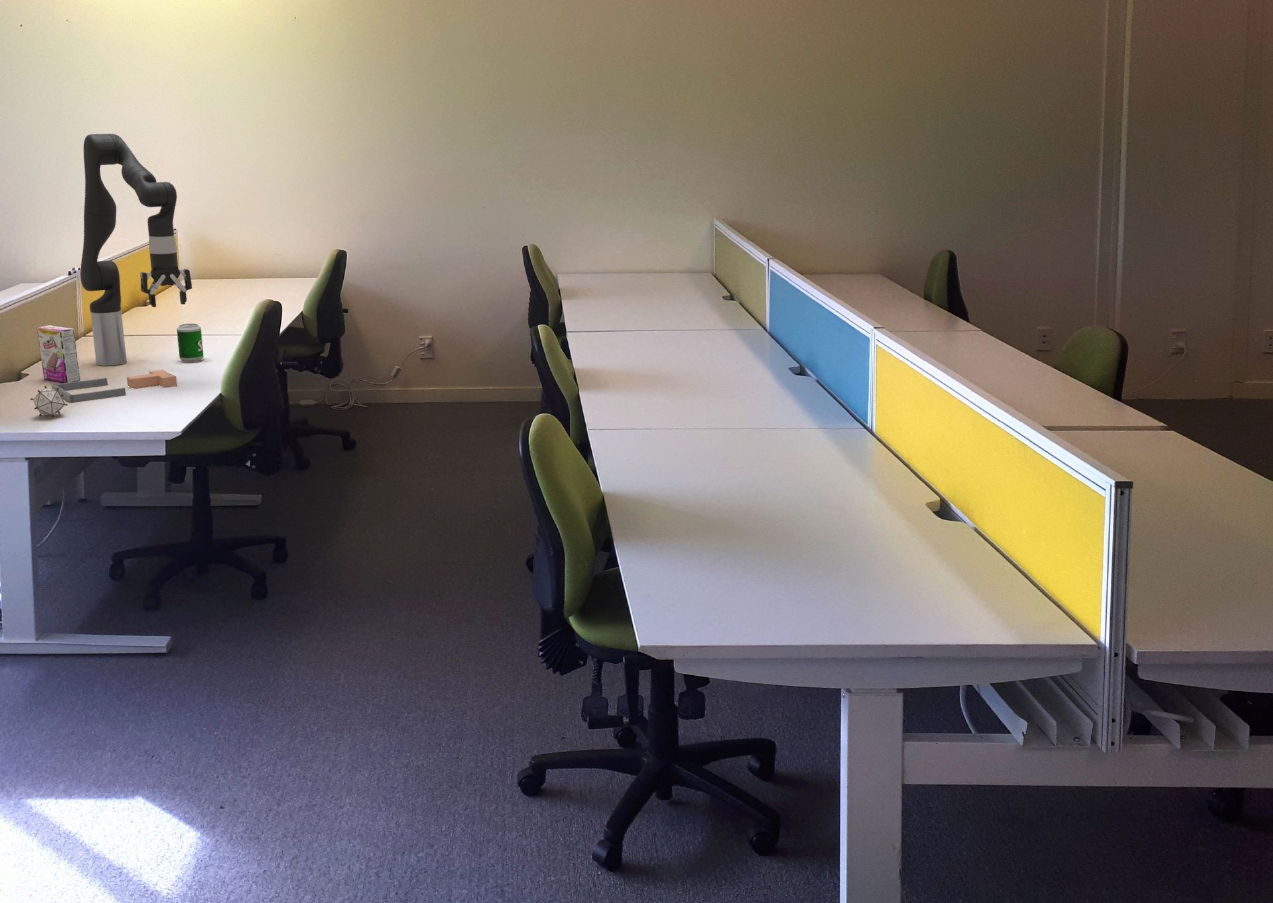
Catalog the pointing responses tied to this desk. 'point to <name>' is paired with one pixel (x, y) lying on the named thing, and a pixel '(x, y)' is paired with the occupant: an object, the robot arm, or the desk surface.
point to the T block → (152, 379)
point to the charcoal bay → (88, 395)
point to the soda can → (190, 343)
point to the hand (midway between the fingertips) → (168, 305)
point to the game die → (48, 402)
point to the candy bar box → (58, 354)
